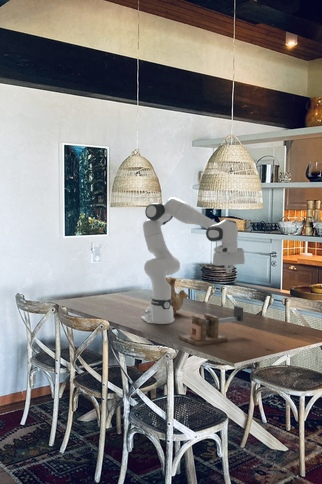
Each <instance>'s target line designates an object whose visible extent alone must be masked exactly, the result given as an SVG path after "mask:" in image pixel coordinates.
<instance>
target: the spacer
mask: <svg viewBox="0 0 322 484" xmlns="http://www.w3.org/2000/svg"><path fill="white" fill-rule="evenodd" d="M195 329H196V334H195ZM189 334H190V337H192V338H194V339H196V340H201V326H199V325H196V324H194V323H193V324H192V323H190V324H189Z"/></svg>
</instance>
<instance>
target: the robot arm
mask: <svg viewBox="0 0 322 484" xmlns="http://www.w3.org/2000/svg"><path fill="white" fill-rule="evenodd" d="M144 212H145V213H144V214H145V217H146V218H147V219H146V220H145V221H144V222H143V225H142V230H143V236H144V239H145V243H146V246H147V250H148V252H149V253H150V254H152V255H153V256H154V258H151V259H149V260H147V261H145V263H144V267H143V268H144V272H145V274H146V275H147V276H148V277H149V279H150V281H151V285H152V298H150V301H151V302H150V304H149V305H148V306H147V307H146V308H145V311H144V315H142V316H140V318H141V320H143V321H145V322H146V323H148V324H159V325H165V324H166V325H167V324H171V323H173V322H174V321H175V320H176V318H175V317H174V315H173V307H172V306H171V304H172V299H171V285H170V284H169V283H167V281H166V276H170V275H171V276H172V275H173V274H176V273H178V272H179V271H180V267H181V263H180V261H179V259H178V258H176V256H174V255H173V254H172V252H170V249H169V248H168V246H167V244H166V240H165V238H164V234H163V231H162V226H164V225H166V224H167V223H168V222H170V221H171V220H173V218H174V219H176V220H178V221H179V222H181V223H182V224H183V223H184V224H186V225H196V226H201V227H203V228H204V229H206V231H205V236H206V239H207V240H208V241H210V242H213V243H218V242H221V244H220V245H218V246H216V247H214V249H213V251H214V253H213V255H212V256H213V258H212V264H213V265H214V266H217V267H218V266H223V267H224V269H225V273H226V274H231V273H232V272H233V269H234V265H244V264H245V261H246V260H245V250H244V249H243V248H242V247H238V237H239V235H238V234H239V233H238V232H239V231H238V229H239V228H238V223H237V221H235V220H233V219H226V218H225V219H223V220H222V221H220V222H217V221H215V220H214V219H211V218H210V217H208V216H206V215H205V214H203V213H202V212H200V211H198V210H197V209H195V208H194V207H193V206H191V205H190V204H188V203H187V202H185V201H183V200H181V199H179V198H176V197H174V196H173V197H170V198H169V199H167V200H166V202H164V203H162V202H152V203H149V204H148V205H147V206H146V208H145V210H144Z"/></svg>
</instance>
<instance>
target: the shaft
mask: <svg viewBox="0 0 322 484" xmlns="http://www.w3.org/2000/svg"><path fill="white" fill-rule="evenodd" d="M232 322H244V307H243V306H239V305H234V306H233V316H229V317H222V318H219V324H223V323H232ZM206 325H211V320H206Z"/></svg>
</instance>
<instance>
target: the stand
mask: <svg viewBox="0 0 322 484" xmlns="http://www.w3.org/2000/svg"><path fill="white" fill-rule="evenodd" d="M203 315H204V317H202V316H199V315H197V314H193V315H191V324H193V323H194V324H196V325H199V326H201V340H196V339H194V338H192V337H190V333H188V334H183V335H182V334H181V335H178V336H179V337H178V338H179V339H180V340H181V339H182V341H184V342H186V343H189V344H191V345H193V346H204V345H209V344H210V345H212V344H217V343H223V342H228V340H229V339H228V337H226V336H223V335H219V324H220V323H219V319H220V318H219V316H215V315H213V314H210V313H204V314H203ZM206 320H211V325H206ZM195 334H196V329H195Z"/></svg>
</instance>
